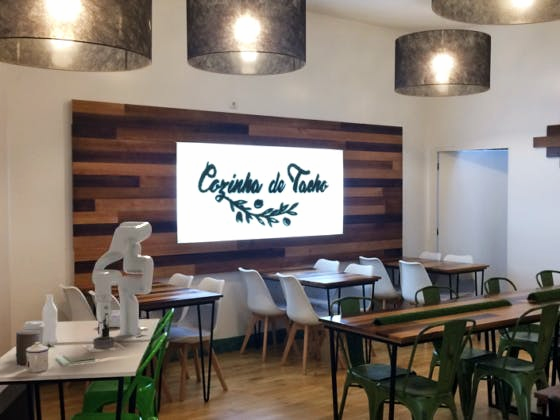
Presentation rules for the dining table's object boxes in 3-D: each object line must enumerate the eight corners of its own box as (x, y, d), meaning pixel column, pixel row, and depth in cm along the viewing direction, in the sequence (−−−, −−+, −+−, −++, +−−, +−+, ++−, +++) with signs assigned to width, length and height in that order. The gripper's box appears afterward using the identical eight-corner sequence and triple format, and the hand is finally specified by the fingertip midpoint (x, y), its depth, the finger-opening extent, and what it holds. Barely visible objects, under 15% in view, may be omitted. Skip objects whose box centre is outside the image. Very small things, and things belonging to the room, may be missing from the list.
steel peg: (106, 345, 311) (106, 318, 310) (109, 347, 307) (109, 320, 307) (98, 346, 309) (98, 319, 308) (100, 348, 305) (100, 320, 305)
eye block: (115, 344, 319) (115, 333, 319) (125, 351, 305) (125, 339, 305) (82, 348, 311) (82, 337, 311) (91, 355, 297) (90, 343, 297)
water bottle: (52, 347, 314) (52, 296, 314) (39, 346, 316) (38, 295, 315) (60, 343, 321) (60, 293, 321) (47, 343, 323) (46, 293, 322)
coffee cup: (23, 353, 302) (22, 321, 302) (44, 351, 306) (44, 319, 306) (23, 357, 293) (23, 325, 293) (46, 355, 297) (45, 323, 297)
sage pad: (87, 355, 298) (87, 352, 298) (95, 361, 286) (95, 359, 286) (56, 359, 291) (56, 356, 291) (63, 365, 279) (63, 363, 279)
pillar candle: (16, 366, 279) (16, 331, 278) (15, 361, 288) (15, 327, 287) (40, 364, 282) (40, 330, 282) (39, 359, 291) (39, 326, 291)
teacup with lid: (27, 367, 276) (27, 340, 276) (49, 366, 279) (49, 339, 278) (23, 375, 265) (23, 347, 264) (47, 373, 267) (47, 345, 267)
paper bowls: (118, 329, 355) (118, 315, 355) (95, 327, 361) (95, 313, 361) (134, 324, 369) (134, 310, 369) (111, 322, 375) (111, 309, 375)
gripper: (116, 299, 302) (116, 337, 302) (106, 295, 317) (106, 331, 317) (100, 301, 298) (100, 339, 298) (90, 296, 313) (91, 333, 313)
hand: (103, 335), depth 308 cm, fingers open, 6 cm apart
